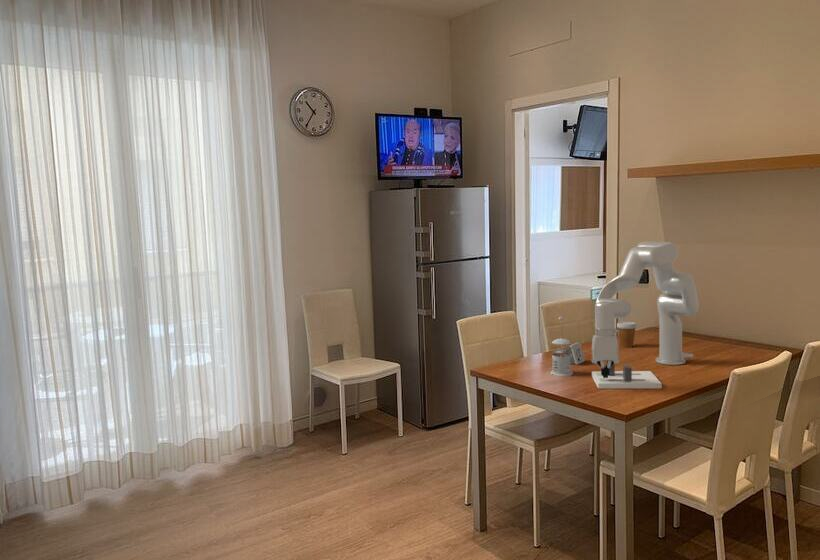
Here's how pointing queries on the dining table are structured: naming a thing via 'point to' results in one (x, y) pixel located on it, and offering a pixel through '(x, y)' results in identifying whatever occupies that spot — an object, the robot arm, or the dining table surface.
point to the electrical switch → (576, 353)
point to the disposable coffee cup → (626, 333)
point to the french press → (561, 358)
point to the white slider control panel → (617, 381)
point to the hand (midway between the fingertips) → (605, 377)
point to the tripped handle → (627, 373)
